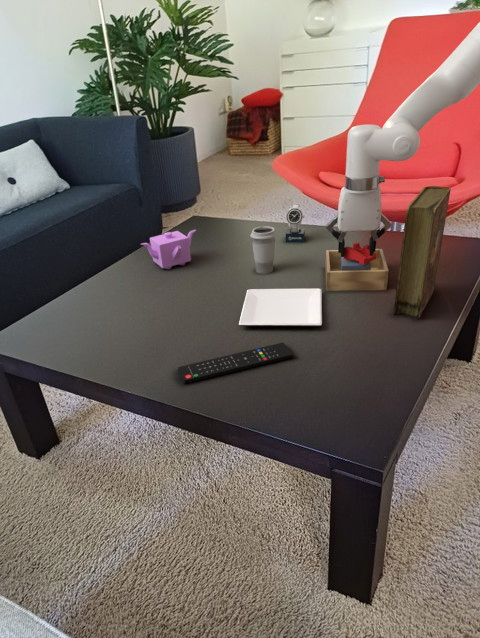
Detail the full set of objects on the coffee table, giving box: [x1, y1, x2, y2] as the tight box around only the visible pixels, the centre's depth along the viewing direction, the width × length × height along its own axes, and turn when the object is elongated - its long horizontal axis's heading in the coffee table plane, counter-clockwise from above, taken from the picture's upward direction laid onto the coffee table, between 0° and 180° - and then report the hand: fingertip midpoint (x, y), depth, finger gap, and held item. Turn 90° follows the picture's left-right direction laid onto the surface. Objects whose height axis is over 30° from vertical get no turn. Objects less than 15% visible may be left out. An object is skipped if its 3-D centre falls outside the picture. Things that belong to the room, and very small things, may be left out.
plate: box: [238, 288, 323, 327], centre depth 126 cm, size 19×19×2 cm
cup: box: [249, 225, 277, 275], centre depth 145 cm, size 7×7×12 cm
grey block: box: [340, 257, 371, 271], centre depth 136 cm, size 7×7×5 cm
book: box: [393, 185, 452, 320], centre depth 117 cm, size 16×6×25 cm, turn 148°
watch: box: [285, 204, 306, 244], centre depth 162 cm, size 6×8×11 cm
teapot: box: [140, 229, 197, 270], centre depth 156 cm, size 18×13×10 cm
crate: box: [324, 248, 390, 292], centre depth 136 cm, size 15×15×6 cm
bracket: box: [344, 241, 377, 265], centre depth 133 cm, size 6×5×3 cm
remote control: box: [177, 342, 294, 384], centre depth 109 cm, size 5×24×1 cm, turn 106°
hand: (356, 254), depth 134 cm, fingers closed on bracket, 6 cm apart
